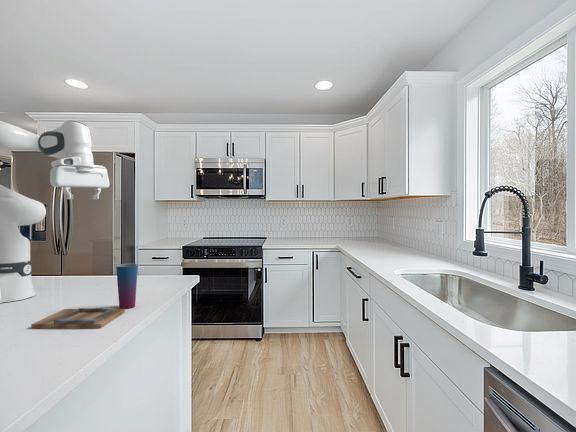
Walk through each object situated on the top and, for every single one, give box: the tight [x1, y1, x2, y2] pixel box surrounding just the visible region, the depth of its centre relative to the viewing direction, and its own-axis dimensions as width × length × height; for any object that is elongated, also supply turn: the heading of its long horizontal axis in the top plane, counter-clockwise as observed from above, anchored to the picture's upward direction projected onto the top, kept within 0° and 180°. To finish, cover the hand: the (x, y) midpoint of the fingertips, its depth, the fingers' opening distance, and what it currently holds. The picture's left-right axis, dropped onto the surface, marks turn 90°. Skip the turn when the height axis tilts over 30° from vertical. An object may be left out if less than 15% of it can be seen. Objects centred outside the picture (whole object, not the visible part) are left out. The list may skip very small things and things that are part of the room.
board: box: [30, 307, 126, 329], centre depth 98 cm, size 20×14×2 cm
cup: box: [115, 263, 139, 310], centre depth 111 cm, size 7×7×15 cm
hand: (83, 199), depth 120 cm, fingers open, 8 cm apart
